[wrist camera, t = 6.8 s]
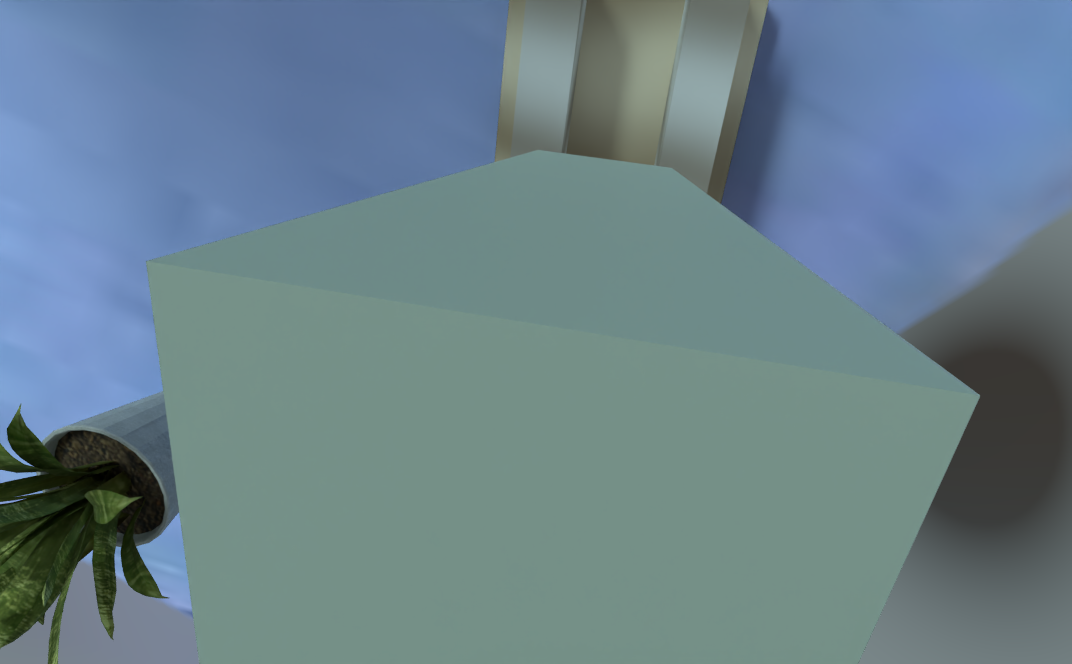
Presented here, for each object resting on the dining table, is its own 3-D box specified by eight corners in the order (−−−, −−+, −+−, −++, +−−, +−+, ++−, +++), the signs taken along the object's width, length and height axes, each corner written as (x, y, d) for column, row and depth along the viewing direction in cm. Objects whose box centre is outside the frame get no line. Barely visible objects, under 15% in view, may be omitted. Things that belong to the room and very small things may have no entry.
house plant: (20, 319, 32) (-511, 490, 17) (223, 270, 29) (-195, 421, 14) (133, 521, 37) (-210, 802, 21) (320, 495, 34) (78, 797, 19)
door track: (516, -28, 23) (500, -54, 20) (763, -2, 22) (789, -24, 19) (468, 493, 32) (451, 534, 29) (641, 525, 31) (644, 571, 28)
